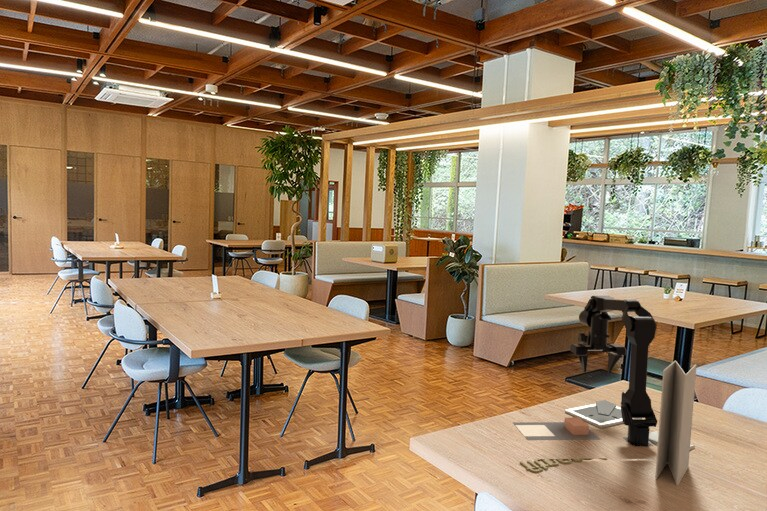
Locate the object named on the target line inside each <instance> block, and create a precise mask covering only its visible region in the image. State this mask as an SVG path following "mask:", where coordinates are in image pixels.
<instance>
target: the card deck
mask: <svg viewBox="0 0 767 511" xmlns="http://www.w3.org/2000/svg"><path fill="white" fill-rule="evenodd" d="M563 422H564V427H565V428H566V429H568V430H569V431H570V432H571V433H572V434H573V435H588V432H589V429H590V425H589V424H588V423H587V422H586V421H583V420H581V419H580V418H577V417H564V420H563Z"/></svg>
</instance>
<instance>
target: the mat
mask: <svg viewBox="0 0 767 511" xmlns="http://www.w3.org/2000/svg"><path fill="white" fill-rule="evenodd" d="M512 424H513V425H514V427H515V428H516V429H517V430H518V431H519V433H521V434H522V436H523V437H524V438H525V440H527V441H569V440H570V441H573V440H577V441H578V440H582V441H583V440H585V441H586V440H588V441H589V440H590V441H591V440H592V441H593V440H595V441H598V440H599V441H601V438H600V437H599V436H598V435H597V434H595V433H594V432H593V431H592V430H591V429H590V428H589V432H588V435H573V434H572V433H571V432H570V431H569V430H568V429H566V428H565V427H564V421H562V422H561V421H560V422H559V421H558V422H554V421H553V422H552V421H551V422H550V421H549V422H548V421H547V422H545V421H543V422H540V421H539V422H537V421H535V422H532V421H531V422H527V421H526V422H523V421H522V422H512Z"/></svg>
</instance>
